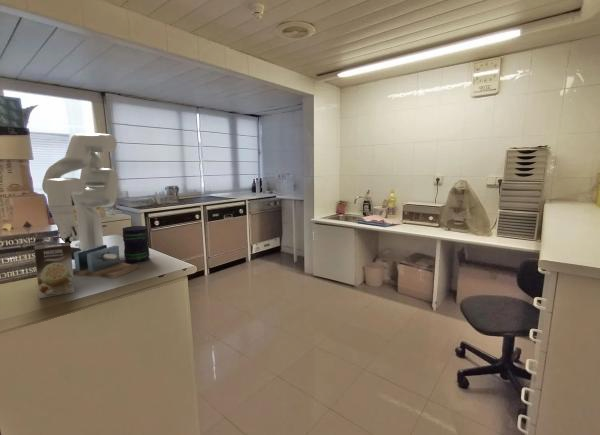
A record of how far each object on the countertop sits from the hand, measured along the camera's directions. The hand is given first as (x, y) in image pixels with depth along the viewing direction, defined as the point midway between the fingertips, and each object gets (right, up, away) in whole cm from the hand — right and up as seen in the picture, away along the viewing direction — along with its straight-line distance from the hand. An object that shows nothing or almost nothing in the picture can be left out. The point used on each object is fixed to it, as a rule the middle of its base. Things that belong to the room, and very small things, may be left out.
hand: (65, 253), depth 121 cm
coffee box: (+16, -10, -24) cm, 31 cm away
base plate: (+18, -7, -3) cm, 20 cm away
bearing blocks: (+15, -5, -3) cm, 16 cm away
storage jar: (+23, -5, +11) cm, 26 cm away
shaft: (+13, -3, -2) cm, 13 cm away
